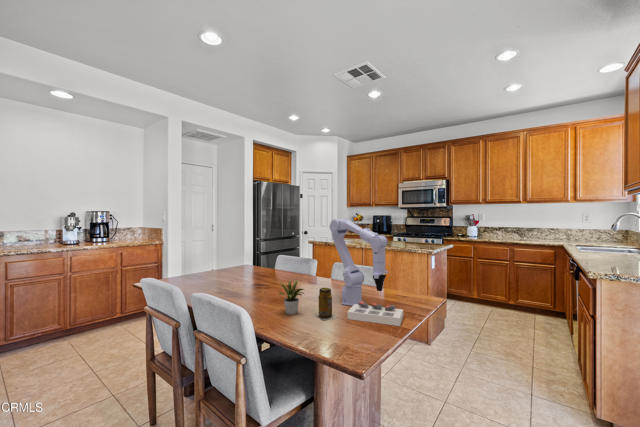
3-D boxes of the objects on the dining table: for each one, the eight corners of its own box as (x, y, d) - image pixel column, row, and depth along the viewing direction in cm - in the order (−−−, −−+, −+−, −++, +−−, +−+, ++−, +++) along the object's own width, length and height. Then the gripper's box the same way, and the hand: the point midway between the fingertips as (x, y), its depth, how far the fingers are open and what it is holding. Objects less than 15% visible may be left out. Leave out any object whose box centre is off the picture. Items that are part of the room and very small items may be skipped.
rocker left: (358, 306, 129) (358, 302, 129) (359, 304, 132) (360, 301, 132) (366, 308, 128) (367, 305, 127) (368, 306, 130) (368, 303, 130)
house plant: (278, 321, 123) (277, 283, 123) (270, 311, 136) (269, 276, 135) (309, 316, 129) (308, 279, 128) (299, 306, 141) (298, 273, 141)
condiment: (328, 312, 134) (328, 286, 133) (337, 317, 126) (337, 290, 126) (314, 314, 130) (314, 288, 130) (323, 320, 123) (322, 292, 123)
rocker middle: (371, 307, 127) (371, 304, 127) (372, 305, 129) (373, 302, 129) (380, 310, 125) (380, 307, 125) (381, 308, 128) (382, 305, 128)
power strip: (347, 319, 124) (347, 311, 124) (357, 308, 138) (356, 300, 138) (399, 326, 116) (399, 317, 116) (404, 313, 130) (404, 306, 130)
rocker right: (385, 311, 124) (384, 307, 124) (386, 309, 127) (385, 305, 127) (394, 310, 123) (393, 306, 123) (395, 308, 125) (394, 304, 126)
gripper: (384, 264, 125) (385, 295, 125) (390, 259, 139) (390, 287, 139) (369, 263, 128) (369, 294, 128) (375, 258, 141) (376, 286, 142)
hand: (379, 290), depth 134 cm, fingers closed
